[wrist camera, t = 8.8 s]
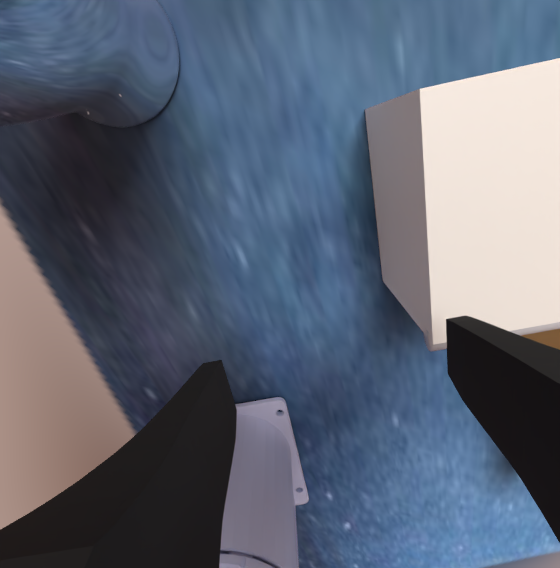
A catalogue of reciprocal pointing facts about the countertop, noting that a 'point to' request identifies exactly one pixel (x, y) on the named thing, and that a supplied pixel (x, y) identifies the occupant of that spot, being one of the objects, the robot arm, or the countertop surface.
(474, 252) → the dispenser
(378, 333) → the countertop surface
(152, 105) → the beer glass
